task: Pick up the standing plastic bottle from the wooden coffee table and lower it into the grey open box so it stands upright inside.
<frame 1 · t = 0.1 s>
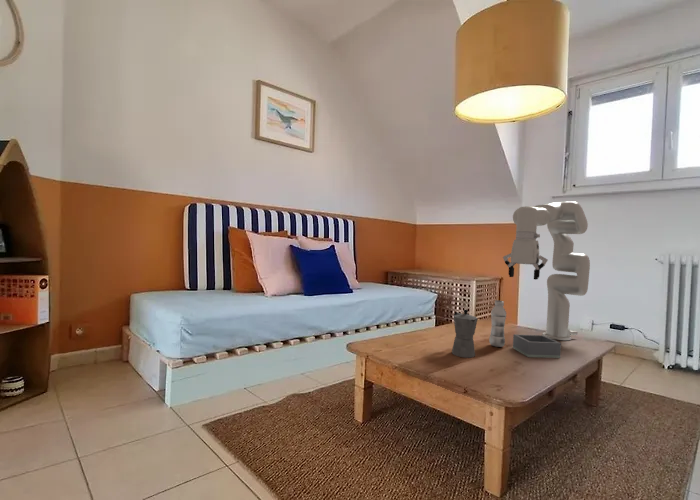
hand: (523, 278, 154), 31 cm above the table, tool pointing down, fingers open, 9 cm apart
grey open box: (535, 352, 156), on the table
plastic bottle: (496, 346, 163), on the table
coffeepot: (461, 354, 150), on the table
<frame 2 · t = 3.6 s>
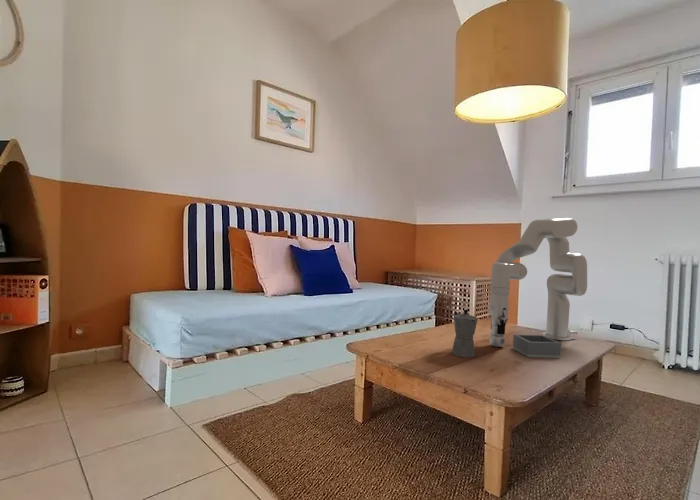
hand: (497, 331, 163), 6 cm above the table, tool pointing down, fingers closed on plastic bottle, 5 cm apart
plastic bottle: (496, 346, 163), on the table, touching gripper
everything else where it was.
when the fingers open (9 cm above the table, at t = 10.7 s): plastic bottle drops 1 cm, resting on grey open box.
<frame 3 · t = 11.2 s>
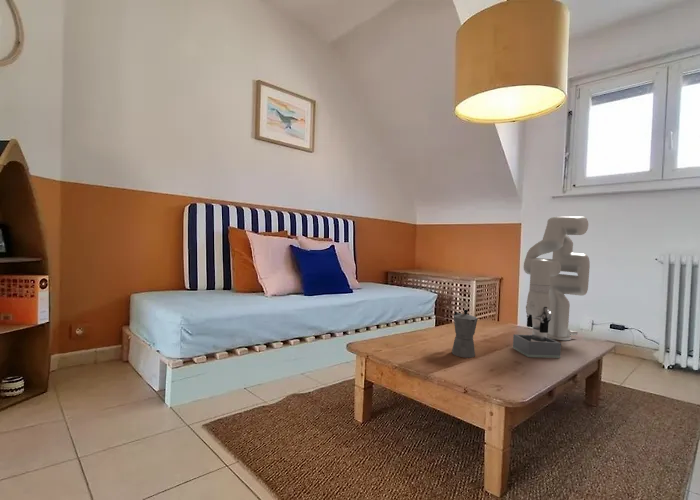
hand: (536, 329, 156), 10 cm above the table, tool pointing down, fingers open, 9 cm apart
plastic bottle: (538, 351, 155), point 1 cm above the table, touching grey open box
everything else where it was.
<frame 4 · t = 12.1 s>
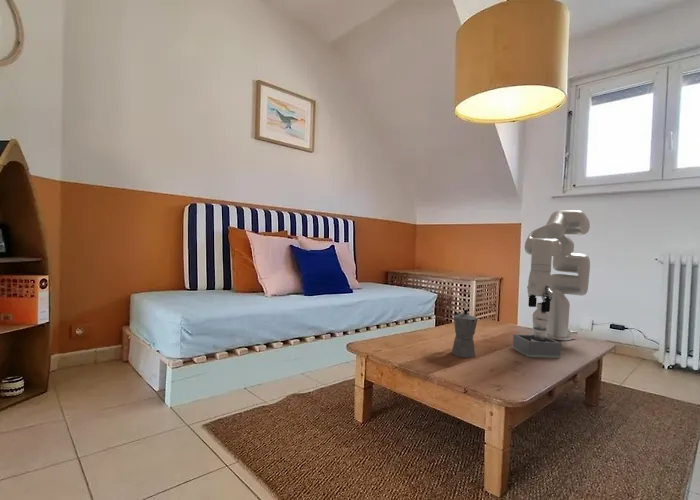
hand: (538, 309, 156), 18 cm above the table, tool pointing down, fingers open, 9 cm apart
nothing on the table moved.
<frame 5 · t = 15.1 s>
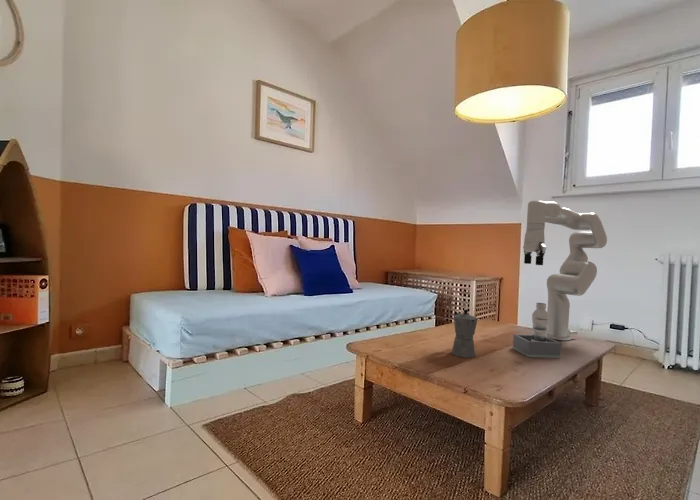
hand: (533, 264, 174), 36 cm above the table, tool pointing down, fingers open, 9 cm apart
nothing on the table moved.
at the end: plastic bottle 1.4 cm off-centre on the grey open box, point 0.8 cm above the grey open box's base; plastic bottle tilted 0°; the gripper is holding nothing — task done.
